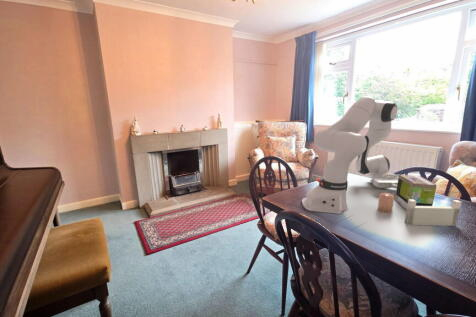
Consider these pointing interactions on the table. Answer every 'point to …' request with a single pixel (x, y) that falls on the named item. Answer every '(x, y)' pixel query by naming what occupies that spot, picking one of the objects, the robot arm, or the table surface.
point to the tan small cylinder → (385, 202)
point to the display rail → (432, 214)
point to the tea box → (415, 190)
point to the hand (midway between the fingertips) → (400, 188)
